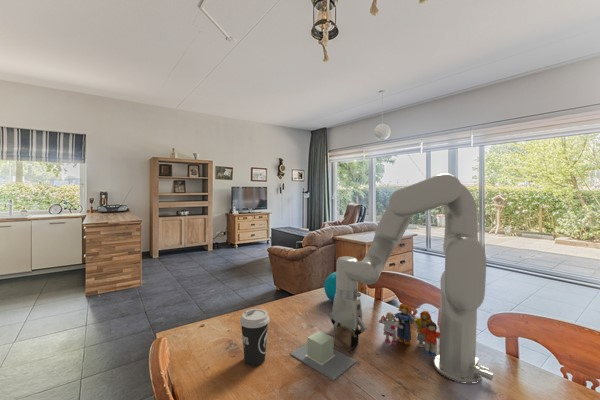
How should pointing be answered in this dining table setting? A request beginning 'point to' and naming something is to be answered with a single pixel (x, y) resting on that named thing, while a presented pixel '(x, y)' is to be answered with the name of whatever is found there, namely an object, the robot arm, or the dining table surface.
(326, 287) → the decorative orb
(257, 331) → the coffee cup
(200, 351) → the dining table surface
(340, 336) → the walnut block
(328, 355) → the sage block
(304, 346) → the felt mat
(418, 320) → the doll family
